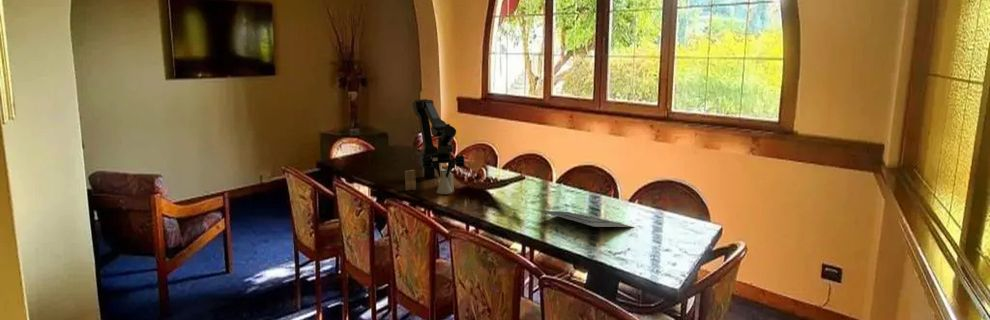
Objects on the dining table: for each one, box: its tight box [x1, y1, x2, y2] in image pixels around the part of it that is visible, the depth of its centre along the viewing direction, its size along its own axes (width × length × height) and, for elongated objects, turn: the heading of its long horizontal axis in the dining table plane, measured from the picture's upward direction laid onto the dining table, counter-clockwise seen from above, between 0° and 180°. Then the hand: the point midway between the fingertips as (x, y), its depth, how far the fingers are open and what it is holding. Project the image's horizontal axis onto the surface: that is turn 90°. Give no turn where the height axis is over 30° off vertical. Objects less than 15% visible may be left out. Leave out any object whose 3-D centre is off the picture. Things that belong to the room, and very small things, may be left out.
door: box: [439, 168, 455, 192], centre depth 286 cm, size 12×3×8 cm, turn 28°
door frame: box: [404, 165, 453, 191], centre depth 289 cm, size 2×23×9 cm, turn 118°
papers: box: [540, 210, 633, 228], centre depth 235 cm, size 24×30×4 cm
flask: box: [436, 171, 453, 195], centre depth 278 cm, size 7×7×10 cm
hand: (443, 177), depth 276 cm, fingers closed on flask, 3 cm apart
